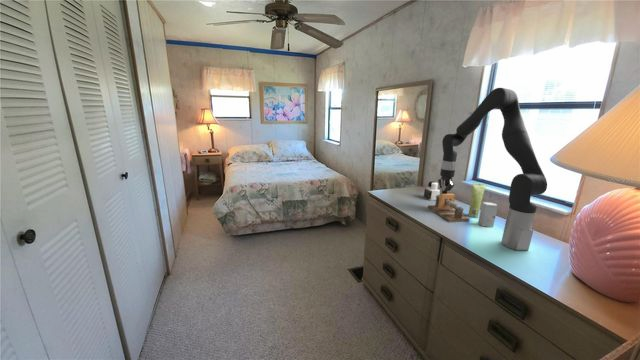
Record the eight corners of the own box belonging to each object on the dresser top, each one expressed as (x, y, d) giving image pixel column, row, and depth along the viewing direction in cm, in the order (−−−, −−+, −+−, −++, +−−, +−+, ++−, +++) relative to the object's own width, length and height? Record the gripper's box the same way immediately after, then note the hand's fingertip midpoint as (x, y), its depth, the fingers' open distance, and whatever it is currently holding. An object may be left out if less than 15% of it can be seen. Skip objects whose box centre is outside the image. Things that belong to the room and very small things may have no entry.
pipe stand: (469, 221, 142) (471, 206, 140) (448, 221, 141) (451, 207, 138) (445, 207, 163) (447, 194, 161) (427, 207, 162) (429, 194, 160)
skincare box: (481, 226, 136) (485, 204, 133) (477, 222, 140) (481, 201, 137) (493, 227, 136) (498, 205, 133) (489, 223, 140) (493, 202, 137)
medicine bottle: (423, 197, 182) (425, 181, 179) (431, 196, 184) (434, 180, 181) (430, 200, 175) (432, 183, 172) (438, 199, 177) (441, 183, 174)
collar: (452, 208, 153) (455, 194, 151) (440, 208, 152) (442, 195, 150) (450, 207, 155) (452, 193, 153) (438, 207, 154) (440, 193, 152)
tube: (470, 213, 154) (476, 182, 149) (479, 216, 150) (486, 184, 145) (466, 215, 150) (472, 183, 145) (476, 218, 146) (482, 185, 142)
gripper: (461, 170, 145) (456, 200, 149) (447, 166, 158) (443, 193, 162) (448, 170, 144) (444, 200, 148) (435, 166, 157) (432, 193, 161)
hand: (443, 196), depth 155 cm, fingers closed
